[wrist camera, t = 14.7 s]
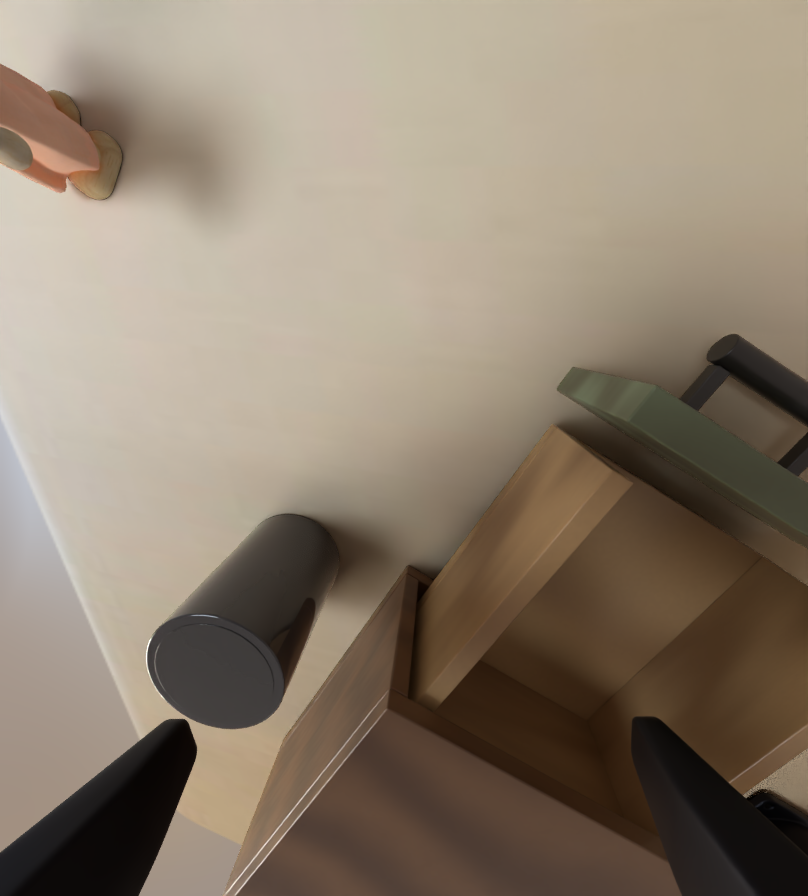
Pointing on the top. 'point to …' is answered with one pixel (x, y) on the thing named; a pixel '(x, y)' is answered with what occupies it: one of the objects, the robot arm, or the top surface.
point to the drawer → (629, 597)
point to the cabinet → (424, 799)
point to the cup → (245, 625)
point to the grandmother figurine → (53, 139)
